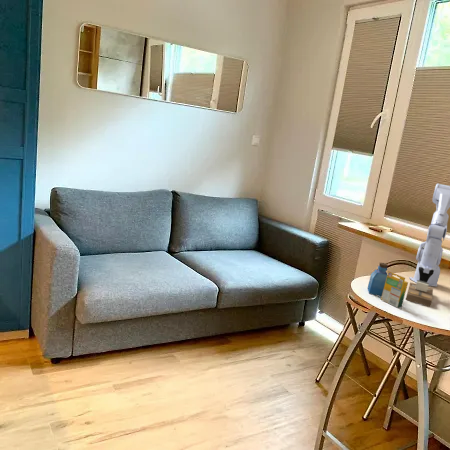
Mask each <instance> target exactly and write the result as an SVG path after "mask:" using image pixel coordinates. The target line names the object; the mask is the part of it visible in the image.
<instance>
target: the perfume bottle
mask: <svg viewBox="0 0 450 450" xmlns="http://www.w3.org/2000/svg"><path fill="white" fill-rule="evenodd" d="M387 271H388V264H387V263H385V262H379V265H378V266H377V269H375V270H374V271H372V272H371V274H370V277H369V281H368V285H367V291H368V294H369V295H374V296H378V297H382V293H383V290H384V286H385V282H386V278H387V275H388V272H387Z"/></svg>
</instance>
